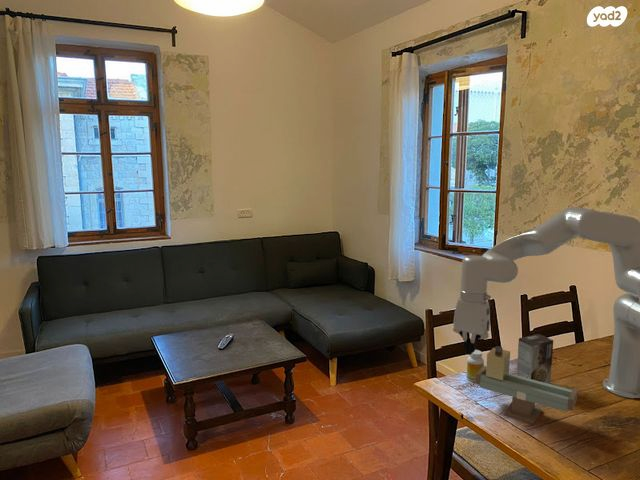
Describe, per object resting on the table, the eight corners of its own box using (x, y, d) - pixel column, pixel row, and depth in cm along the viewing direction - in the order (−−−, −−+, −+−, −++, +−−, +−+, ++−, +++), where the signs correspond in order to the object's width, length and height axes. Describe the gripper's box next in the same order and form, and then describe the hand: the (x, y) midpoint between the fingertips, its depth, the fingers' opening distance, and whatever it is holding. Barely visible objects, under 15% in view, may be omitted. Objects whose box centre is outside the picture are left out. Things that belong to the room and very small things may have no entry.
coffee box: (535, 378, 164) (538, 333, 161) (550, 386, 158) (554, 340, 155) (514, 383, 161) (518, 337, 158) (530, 391, 155) (533, 344, 152)
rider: (508, 377, 147) (510, 346, 145) (502, 385, 142) (504, 353, 140) (491, 373, 150) (493, 342, 148) (485, 380, 145) (487, 349, 143)
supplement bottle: (483, 383, 161) (485, 355, 159) (467, 381, 162) (468, 354, 160) (481, 375, 166) (483, 349, 164) (465, 374, 167) (466, 348, 165)
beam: (575, 420, 138) (578, 388, 136) (569, 435, 131) (572, 401, 129) (483, 393, 154) (485, 364, 152) (473, 405, 147) (475, 375, 145)
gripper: (501, 297, 145) (497, 355, 148) (454, 289, 153) (450, 343, 157) (494, 304, 139) (489, 363, 142) (444, 294, 148) (441, 350, 151)
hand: (469, 352), depth 149 cm, fingers closed
